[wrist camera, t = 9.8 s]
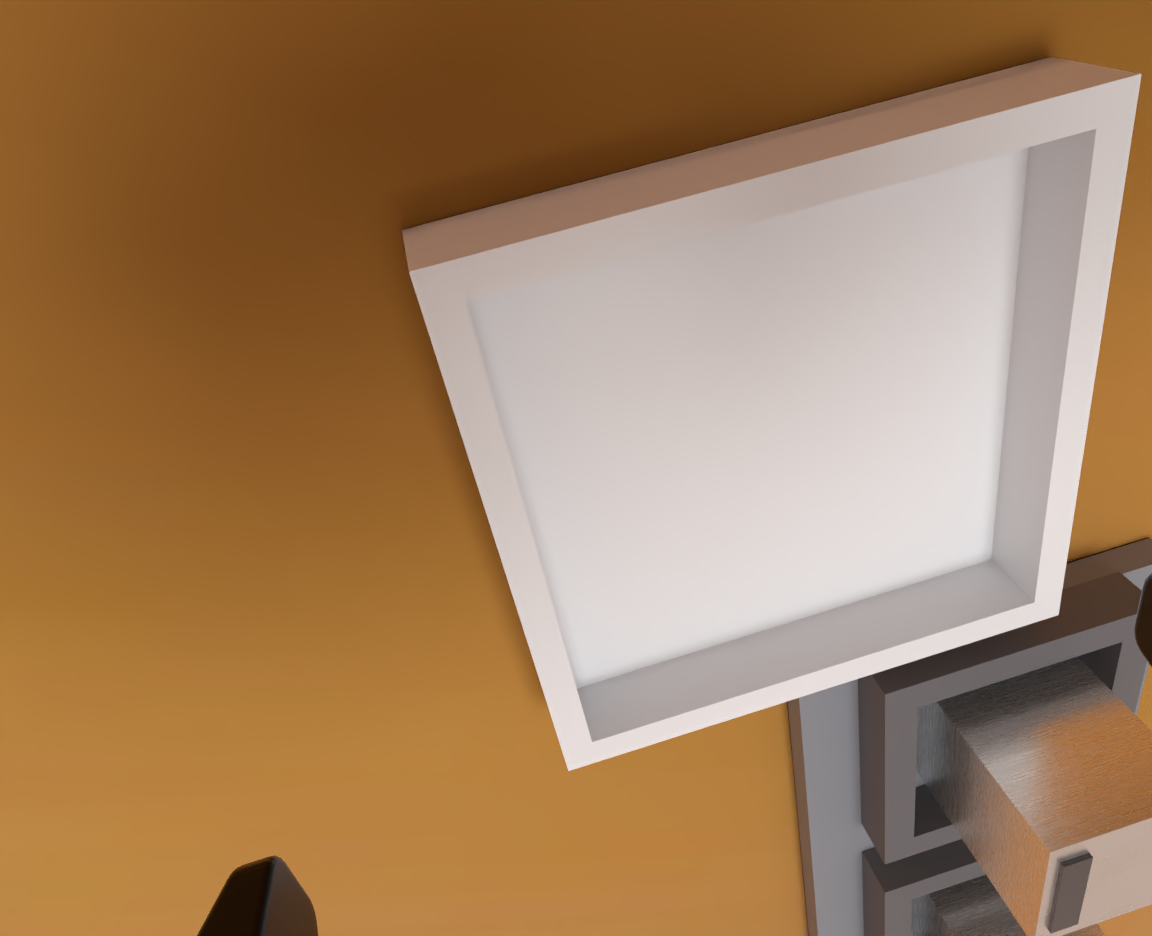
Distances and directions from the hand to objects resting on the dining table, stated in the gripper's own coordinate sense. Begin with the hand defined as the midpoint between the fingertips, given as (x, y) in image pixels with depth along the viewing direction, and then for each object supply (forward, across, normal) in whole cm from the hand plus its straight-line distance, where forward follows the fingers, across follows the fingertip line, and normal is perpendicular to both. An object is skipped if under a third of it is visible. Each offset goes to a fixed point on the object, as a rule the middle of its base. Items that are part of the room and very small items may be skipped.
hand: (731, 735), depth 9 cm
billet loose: (+11, -11, +17) cm, 23 cm away
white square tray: (+12, -5, +5) cm, 14 cm away
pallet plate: (+12, -11, +22) cm, 27 cm away
